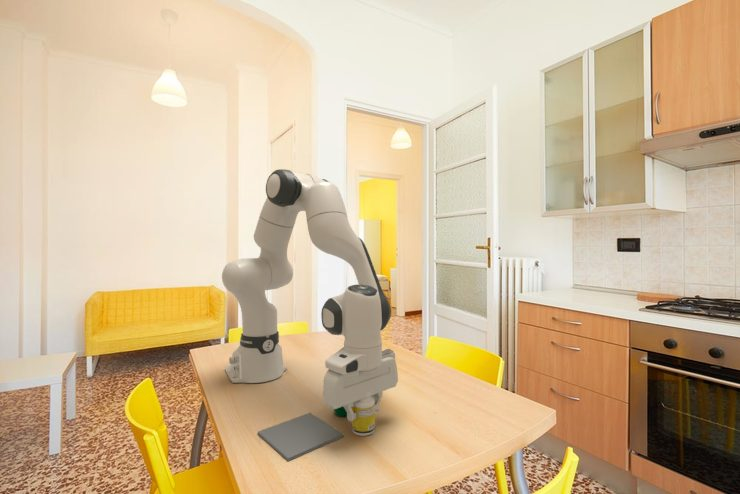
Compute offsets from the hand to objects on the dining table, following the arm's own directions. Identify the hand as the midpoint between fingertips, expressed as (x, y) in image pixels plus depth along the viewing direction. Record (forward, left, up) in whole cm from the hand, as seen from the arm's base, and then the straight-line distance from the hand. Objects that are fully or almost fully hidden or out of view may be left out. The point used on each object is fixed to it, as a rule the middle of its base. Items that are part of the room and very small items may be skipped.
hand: (363, 415), depth 85 cm
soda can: (-10, +2, -4) cm, 11 cm away
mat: (-8, -12, -4) cm, 15 cm away
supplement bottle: (0, 0, -4) cm, 4 cm away
